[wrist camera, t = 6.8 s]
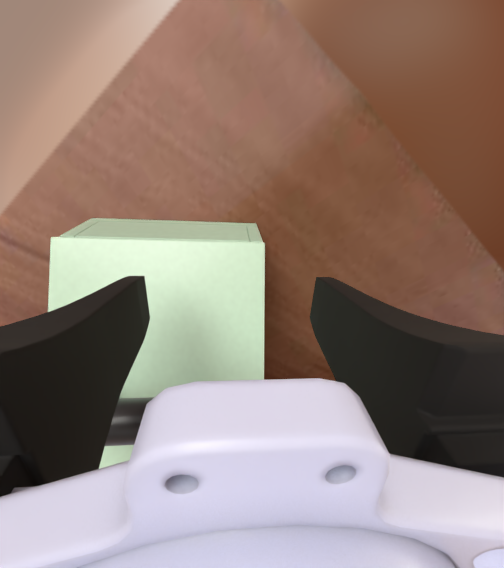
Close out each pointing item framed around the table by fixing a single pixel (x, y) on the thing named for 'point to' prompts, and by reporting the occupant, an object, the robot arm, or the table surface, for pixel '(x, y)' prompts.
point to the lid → (172, 314)
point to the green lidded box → (166, 230)
